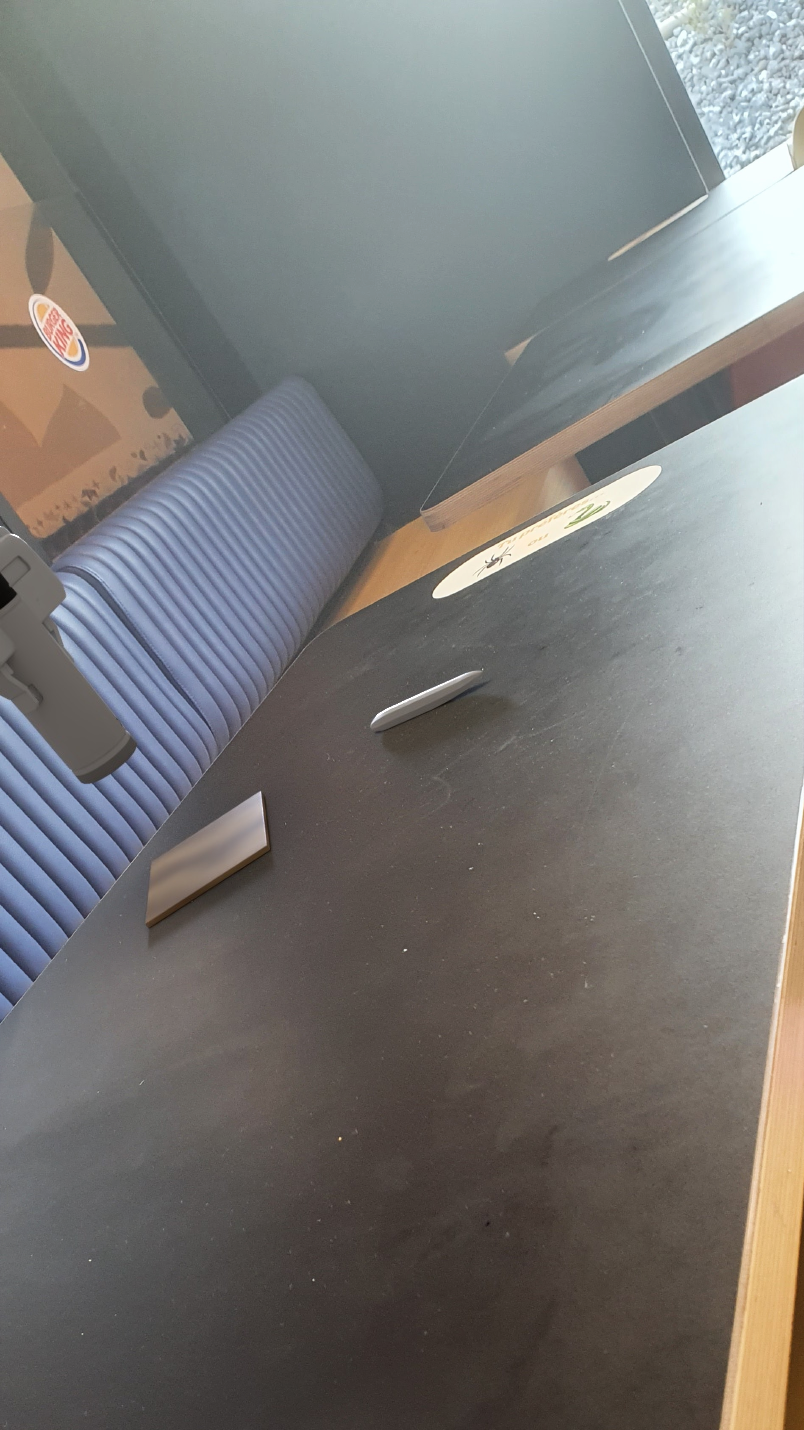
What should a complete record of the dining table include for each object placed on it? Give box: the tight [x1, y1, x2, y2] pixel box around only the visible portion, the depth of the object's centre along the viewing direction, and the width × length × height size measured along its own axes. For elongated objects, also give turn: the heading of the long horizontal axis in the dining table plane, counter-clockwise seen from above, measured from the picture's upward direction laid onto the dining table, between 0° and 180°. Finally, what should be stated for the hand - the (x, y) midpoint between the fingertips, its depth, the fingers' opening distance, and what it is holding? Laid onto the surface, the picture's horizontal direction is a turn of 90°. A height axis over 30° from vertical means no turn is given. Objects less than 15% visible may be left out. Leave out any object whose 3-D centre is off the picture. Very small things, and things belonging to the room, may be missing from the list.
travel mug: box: [0, 573, 138, 785], centre depth 102 cm, size 6×7×20 cm
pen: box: [369, 670, 484, 732], centre depth 116 cm, size 2×14×2 cm, turn 79°
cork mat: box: [144, 790, 271, 929], centre depth 116 cm, size 14×14×1 cm
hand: (51, 688), depth 103 cm, fingers closed on travel mug, 6 cm apart
